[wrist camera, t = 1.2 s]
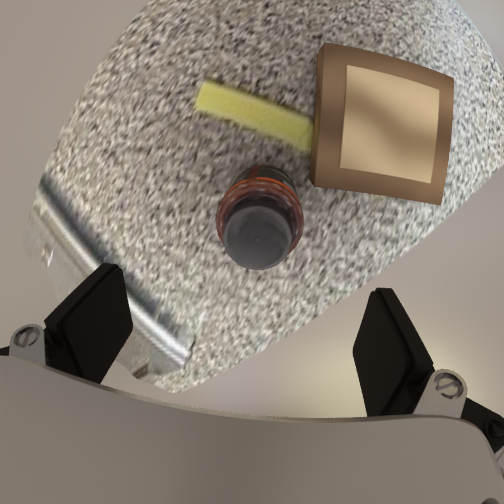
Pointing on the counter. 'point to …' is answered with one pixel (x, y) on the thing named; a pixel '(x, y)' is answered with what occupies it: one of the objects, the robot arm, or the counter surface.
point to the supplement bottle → (260, 218)
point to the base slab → (380, 125)
